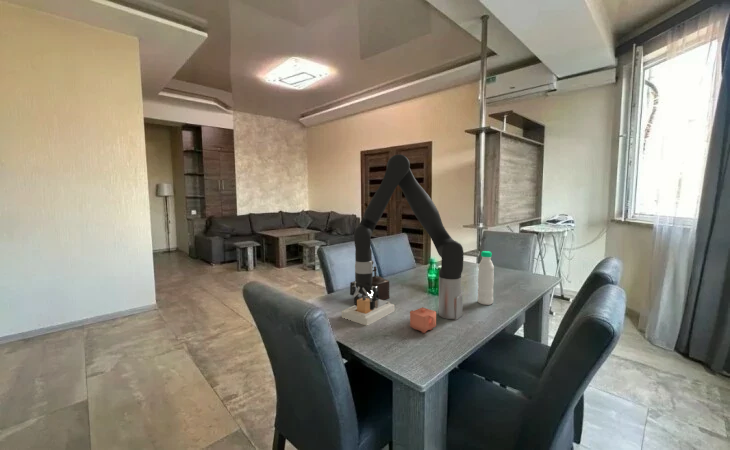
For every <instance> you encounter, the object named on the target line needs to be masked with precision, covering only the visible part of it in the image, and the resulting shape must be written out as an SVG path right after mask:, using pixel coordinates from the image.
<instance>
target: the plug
mask: <svg viewBox="0 0 730 450" xmlns="http://www.w3.org/2000/svg"><path fill="white" fill-rule="evenodd" d="M357 311H358V312H361V313H365V314H366V313H368V312H370V311H372V310H370V300H369V299H368V298H366V296H363V298H362V297H361V298H359V300H357Z"/></svg>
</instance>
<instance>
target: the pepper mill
mask: <svg viewBox="0 0 730 450" xmlns="http://www.w3.org/2000/svg"><path fill="white" fill-rule="evenodd" d="M373 265H374V261H373V260H372V271H373V272H374V273H373V274H374V275H373V281H372V286H378V289H379V299H380V300H384V301H387V300H389V299H390V280H389V279H386V278H383V277H381V275H380V274H379V276H378V275H377V266H373ZM369 294H370V293H369ZM363 296H366V295H364V294H361V298H363Z"/></svg>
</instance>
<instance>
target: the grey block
mask: <svg viewBox="0 0 730 450" xmlns="http://www.w3.org/2000/svg"><path fill="white" fill-rule="evenodd" d="M366 298H368V297H367V296H366ZM368 299H369V298H368ZM385 301H386V300H384V301H381V300H377V301H375V307H376V308H379V307H381V306H383V305H385V304H387V302H385Z"/></svg>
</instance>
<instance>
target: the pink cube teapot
mask: <svg viewBox="0 0 730 450" xmlns="http://www.w3.org/2000/svg"><path fill="white" fill-rule="evenodd" d="M409 327H410V328H411V329H413V330H414V331H419V332H421V333H422V334H426V333H427V331H429V330H430V331H432V330H433V328H435V327H437V311H435V310H434V309H433V310H432V309H429V308H426V307H424V306H422V307H420V308H417V309H414V310H410V312H409Z"/></svg>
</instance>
